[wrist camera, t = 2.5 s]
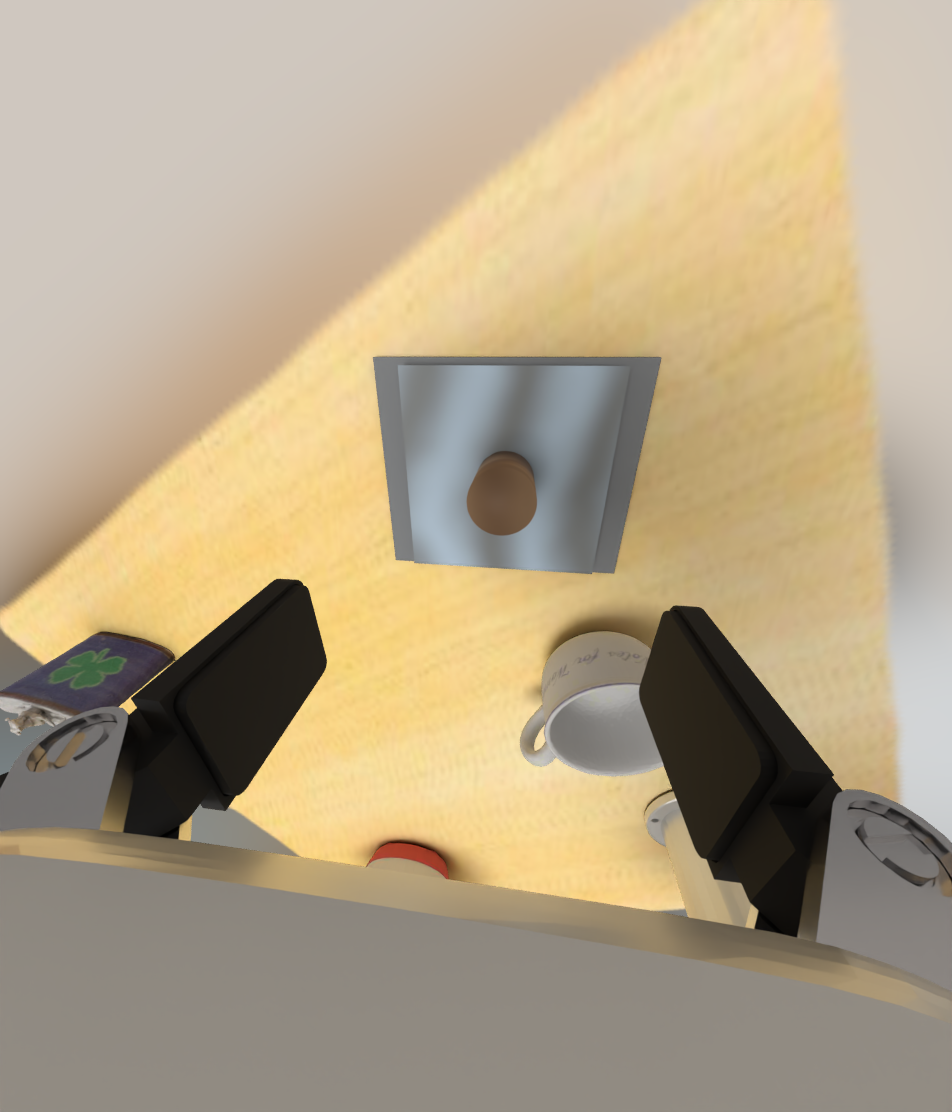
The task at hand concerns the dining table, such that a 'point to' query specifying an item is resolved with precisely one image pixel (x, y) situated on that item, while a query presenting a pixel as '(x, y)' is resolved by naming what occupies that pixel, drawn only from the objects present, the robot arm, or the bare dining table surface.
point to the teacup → (594, 708)
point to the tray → (637, 387)
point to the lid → (509, 462)
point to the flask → (84, 680)
